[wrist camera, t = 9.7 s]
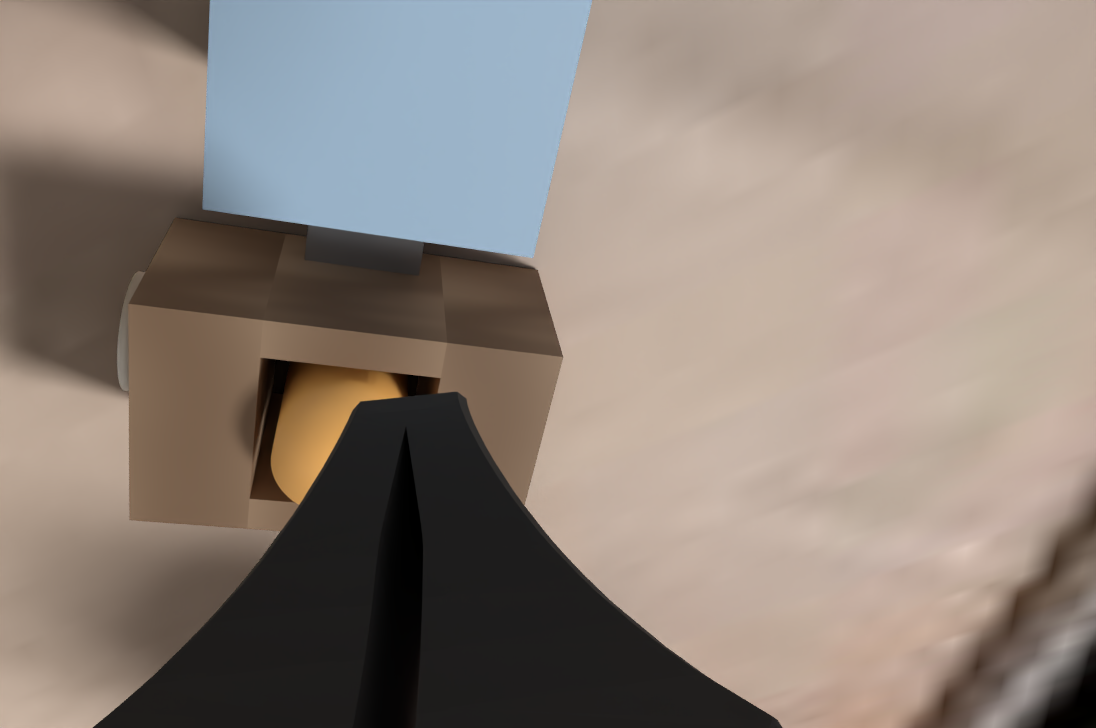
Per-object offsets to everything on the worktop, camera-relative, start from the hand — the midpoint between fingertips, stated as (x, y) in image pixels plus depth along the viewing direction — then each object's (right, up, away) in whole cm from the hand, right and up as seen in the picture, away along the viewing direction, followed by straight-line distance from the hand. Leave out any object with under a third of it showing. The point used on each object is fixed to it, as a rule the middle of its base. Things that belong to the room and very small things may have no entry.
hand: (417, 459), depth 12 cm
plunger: (-3, +1, +8) cm, 8 cm away
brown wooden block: (-3, +2, +10) cm, 11 cm away
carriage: (-1, +9, +6) cm, 11 cm away
